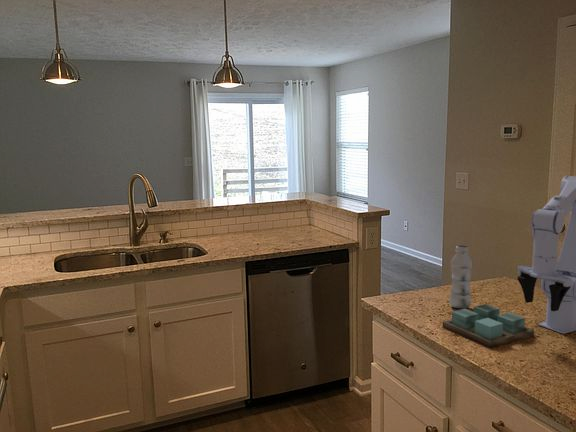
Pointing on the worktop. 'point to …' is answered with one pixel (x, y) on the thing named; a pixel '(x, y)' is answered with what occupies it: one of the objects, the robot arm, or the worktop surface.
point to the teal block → (488, 328)
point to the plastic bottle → (461, 278)
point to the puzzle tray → (485, 341)
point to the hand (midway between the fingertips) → (541, 306)
